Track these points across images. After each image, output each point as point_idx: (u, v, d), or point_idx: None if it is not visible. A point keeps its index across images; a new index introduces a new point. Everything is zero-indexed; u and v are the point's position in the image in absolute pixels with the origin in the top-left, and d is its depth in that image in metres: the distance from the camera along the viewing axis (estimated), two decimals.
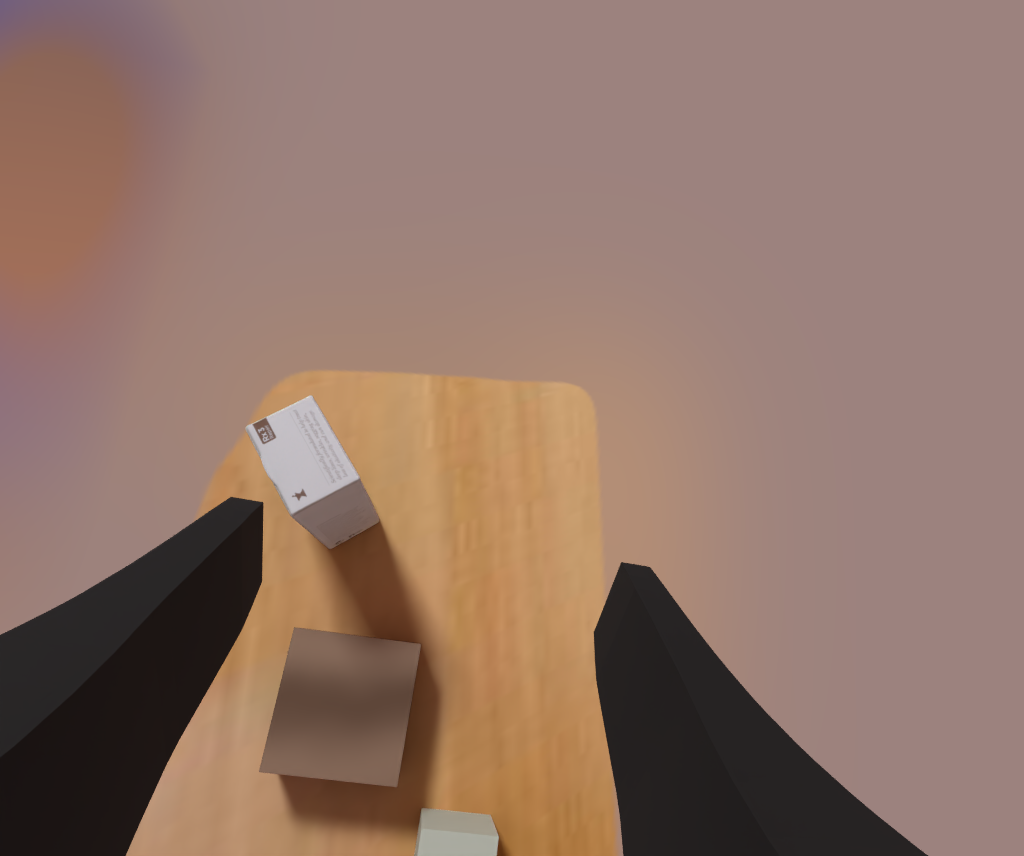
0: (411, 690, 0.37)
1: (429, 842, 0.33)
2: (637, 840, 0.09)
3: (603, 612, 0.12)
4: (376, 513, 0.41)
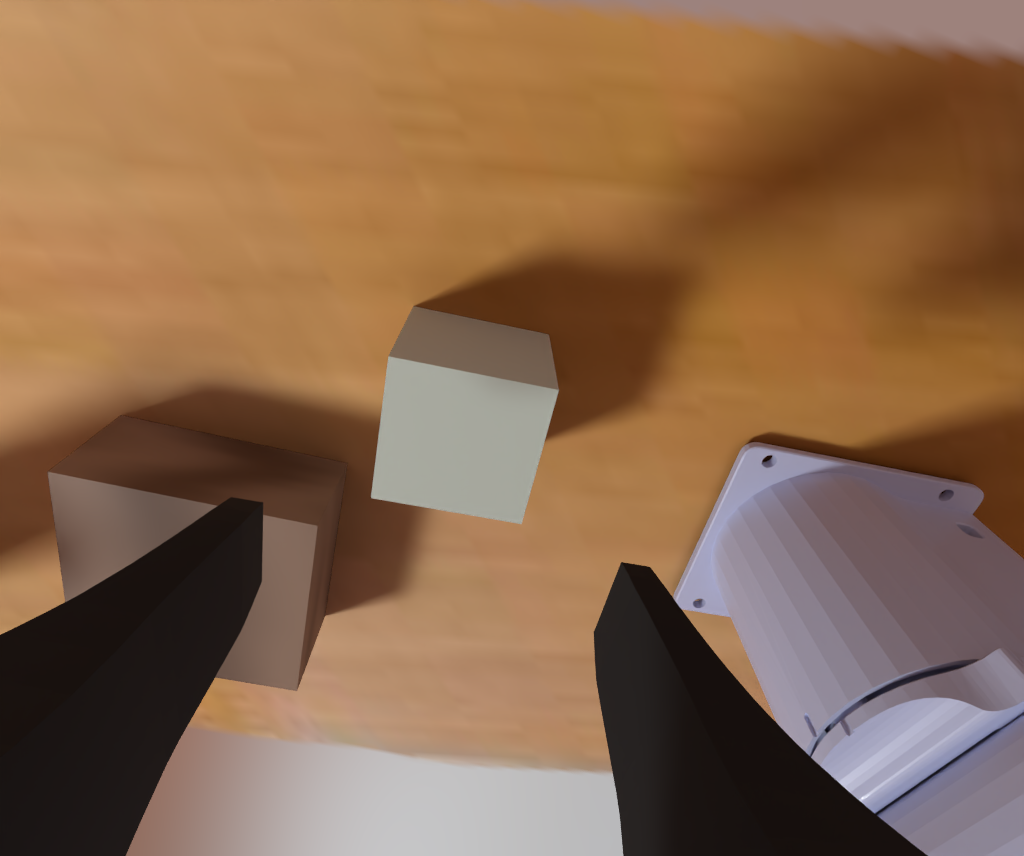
0: (143, 494, 0.18)
1: (394, 485, 0.17)
2: (637, 840, 0.09)
3: (603, 612, 0.12)
4: None
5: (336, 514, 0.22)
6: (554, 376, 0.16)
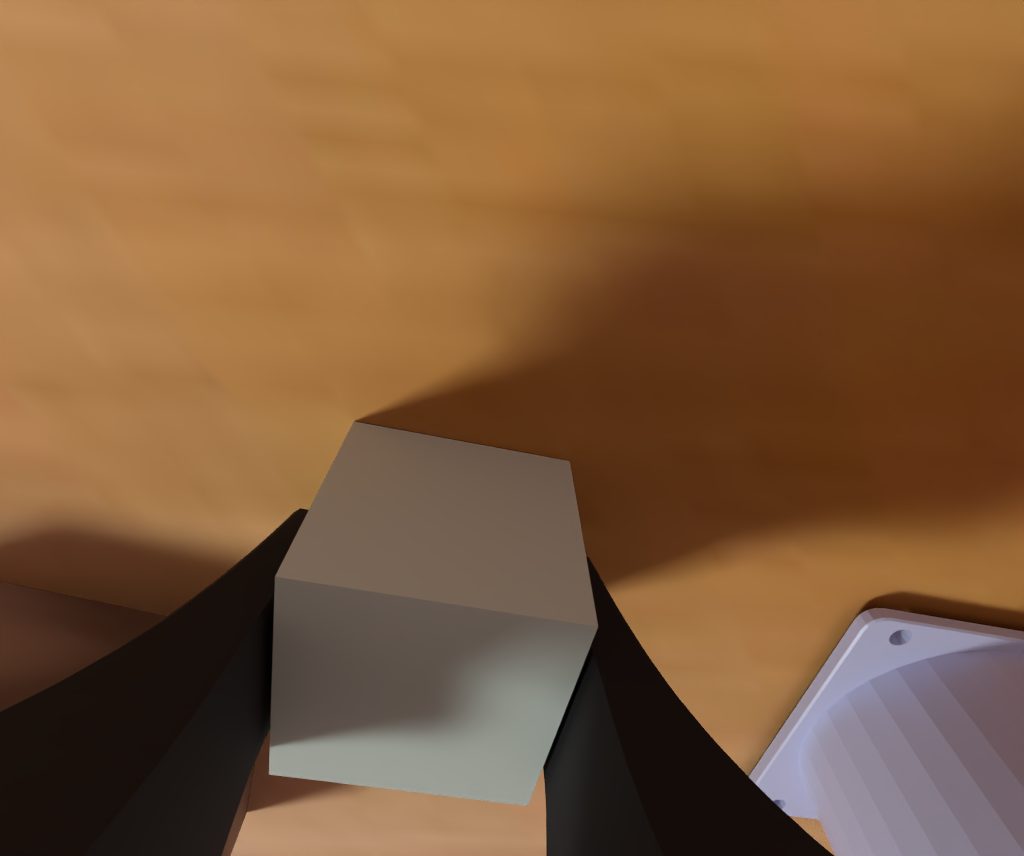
0: None
1: (308, 759, 0.10)
2: (557, 831, 0.09)
3: None
4: None
5: None
6: (586, 581, 0.09)
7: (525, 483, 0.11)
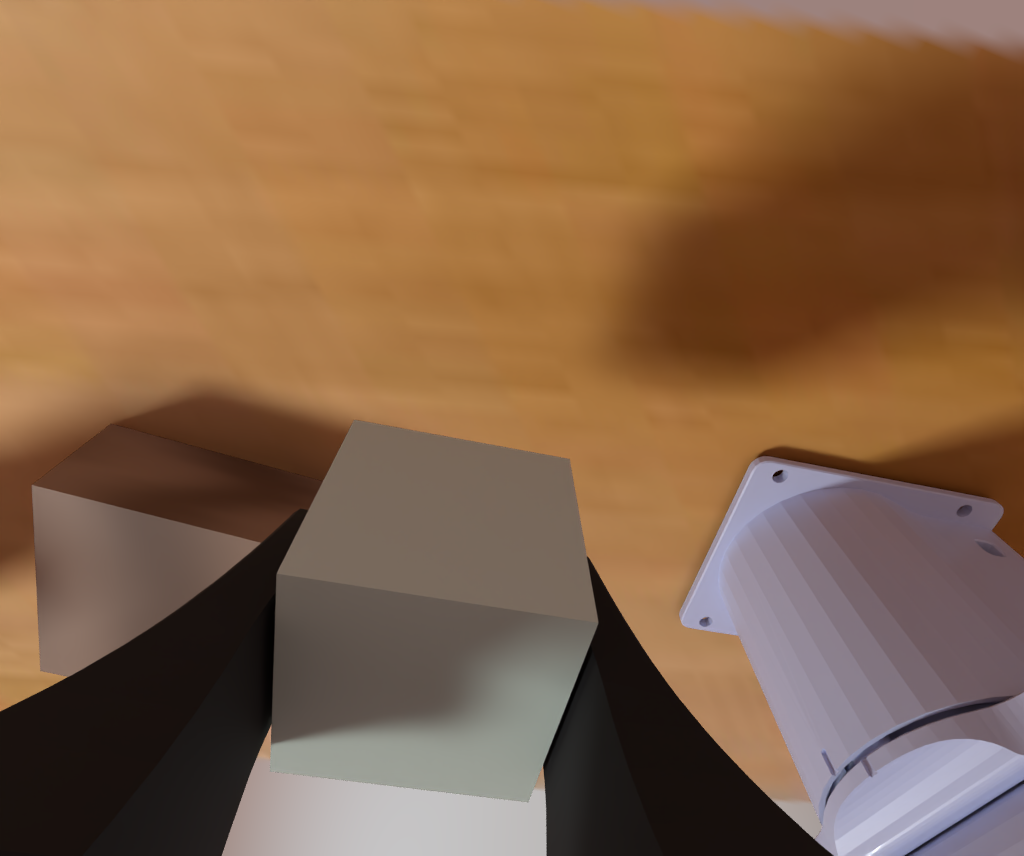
0: (133, 514, 0.17)
1: (309, 755, 0.10)
2: (557, 831, 0.09)
3: None
4: None
5: None
6: (586, 577, 0.09)
7: (525, 481, 0.11)
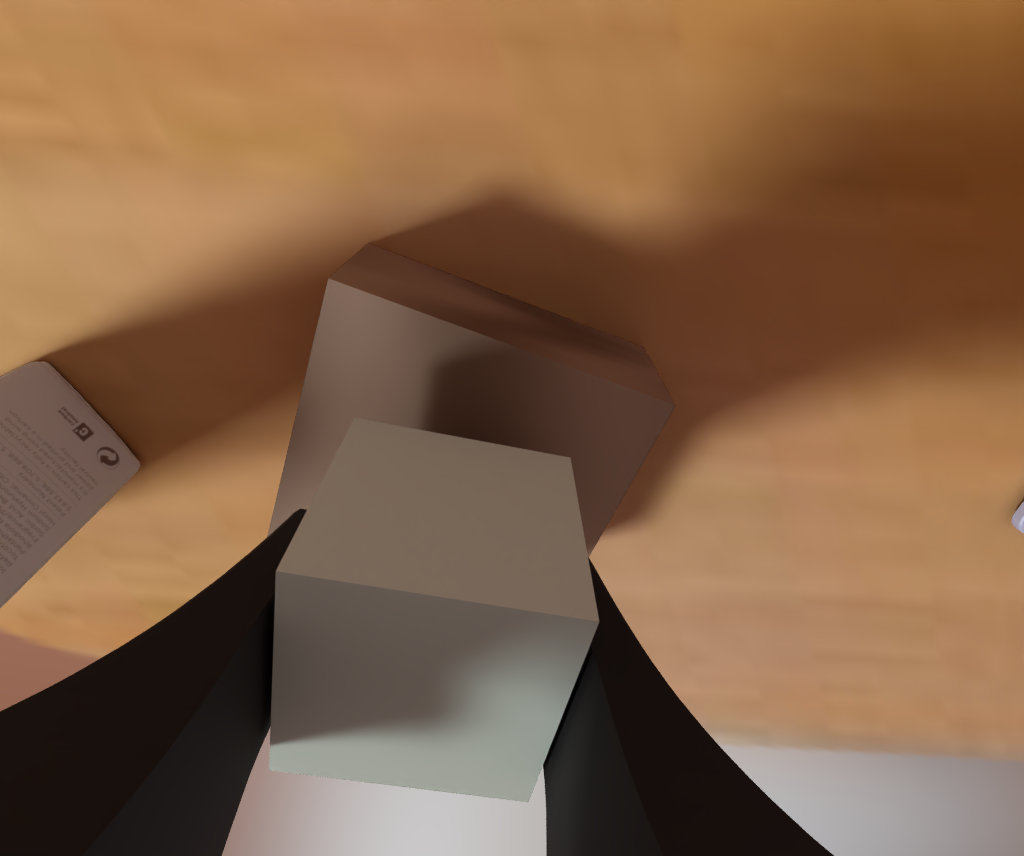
0: (454, 329, 0.12)
1: (308, 754, 0.10)
2: (557, 831, 0.09)
3: None
4: None
5: None
6: (588, 576, 0.09)
7: (526, 479, 0.11)
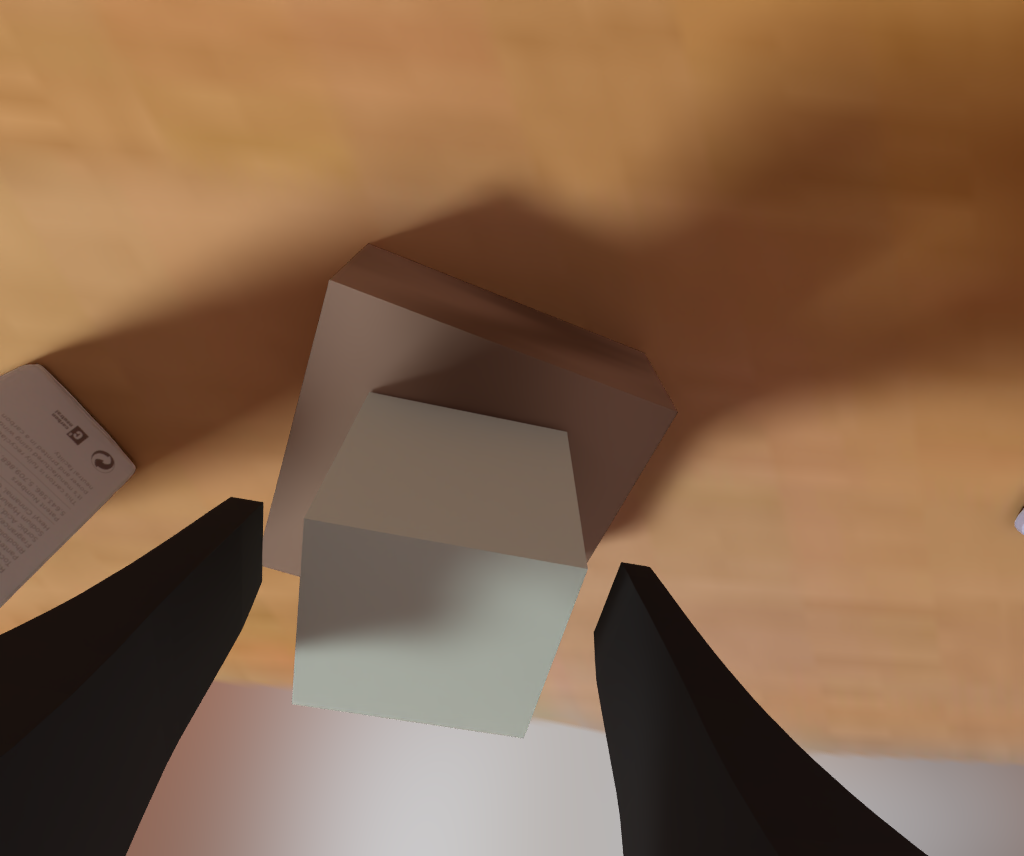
0: (456, 333, 0.12)
1: (327, 689, 0.11)
2: (637, 840, 0.09)
3: (603, 612, 0.12)
4: None
5: None
6: (578, 532, 0.10)
7: (525, 449, 0.12)
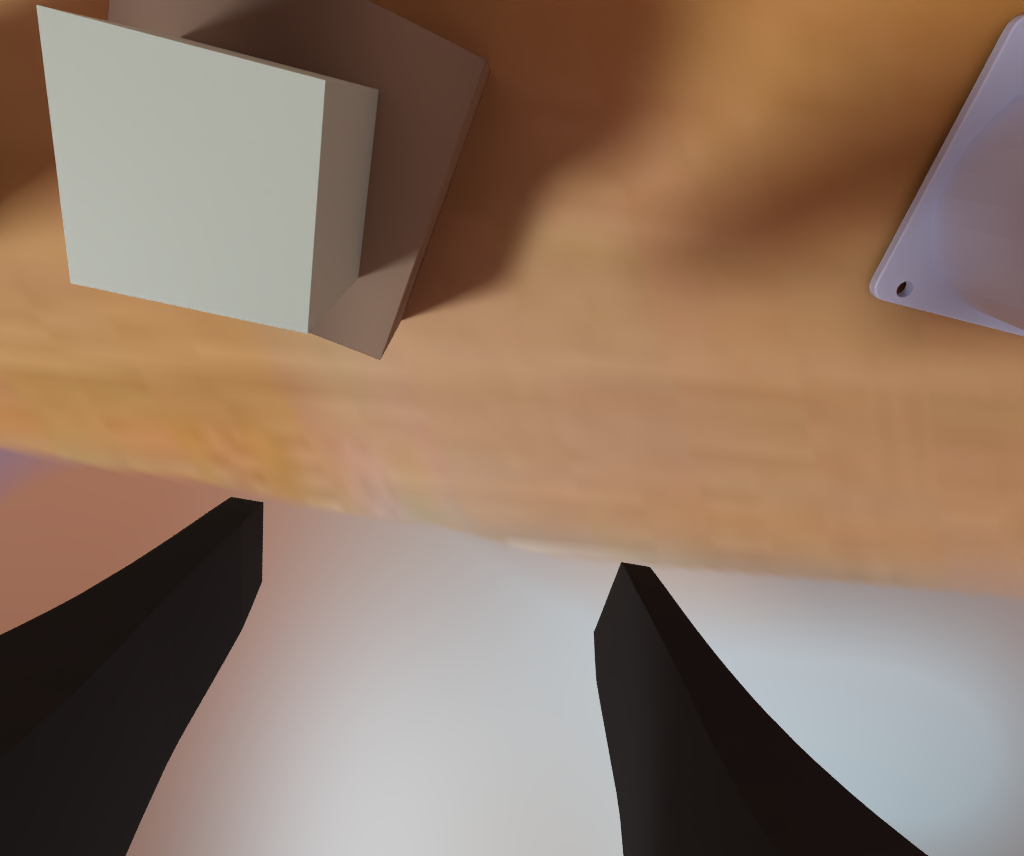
0: None
1: (102, 261, 0.11)
2: (637, 840, 0.09)
3: (603, 612, 0.12)
4: None
5: (465, 137, 0.17)
6: (336, 82, 0.10)
7: (322, 75, 0.13)
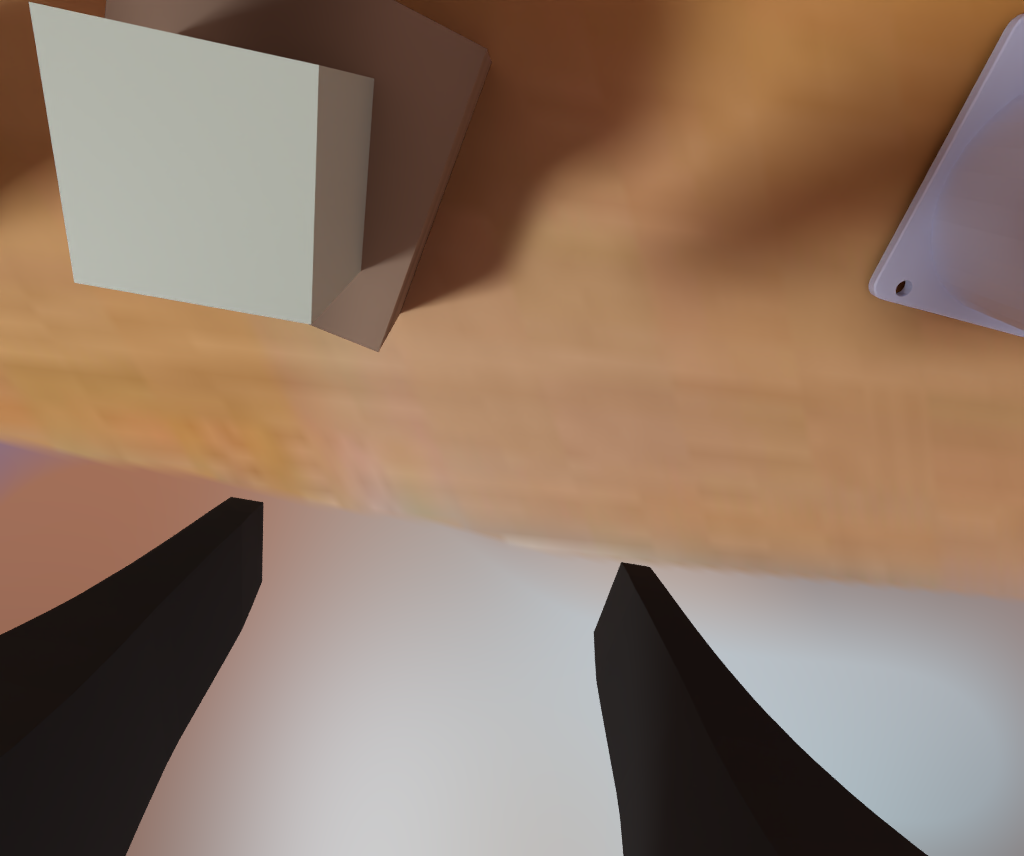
0: None
1: (104, 259, 0.11)
2: (637, 840, 0.09)
3: (603, 612, 0.12)
4: None
5: (465, 129, 0.17)
6: (329, 68, 0.10)
7: None
